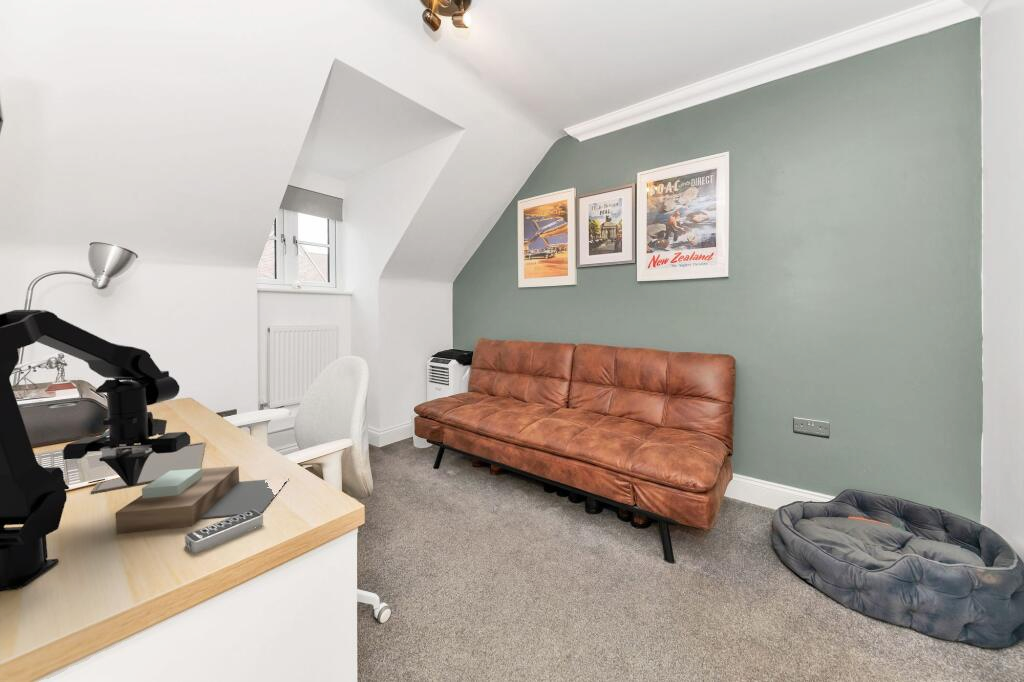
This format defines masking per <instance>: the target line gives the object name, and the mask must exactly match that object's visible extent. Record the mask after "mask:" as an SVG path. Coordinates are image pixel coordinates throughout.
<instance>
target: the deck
mask: <svg viewBox="0 0 1024 682" xmlns="http://www.w3.org/2000/svg"><path fill="white" fill-rule="evenodd" d="M239 469H240V468H239V465H232V466H222V467H206V468H202V478H200V479H199V480H198V481H196V482H195V483H194V484H192V485H191V486H190V487H188V488H187V489H186V490H184V491H183V492H182V493H180V494H179V495H175V496H164V497H152V498H142V495H140V496H138V497H137V498H135V499H133V501H131V502H129V503H128V504H126V505H125V506H123V507H122V508H119V510H117V511H116V512H115V513H114V514H115V515H114V516H115V525H116V526H115V528H116V529H115V530H116V535H119V534H128V533H129V534H130V533H136V532H137V533H139V532H145V531H146V532H147V531H155V530H156V531H157V530H166V529H175V528H176V529H177V528H185V527H186V528H187V527H194V525H195V524H196V523H198V522H199V521H200V520H201V519H200V517H201V516H202V515H203V514H204V513H205V512H206V511H207V510H209V509H210V508H211V507H212V506H213V505H214V504H215V503H216V502H217V501H218V500H219V499H220V498H221V497H223V496H224V495H225V494H226V493H227V492H228V491H229V490H230V489H231V488H232V487H233V486H234V485H235V484H237V483H238V482H240V470H239Z"/></svg>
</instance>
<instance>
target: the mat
mask: <svg viewBox="0 0 1024 682" xmlns="http://www.w3.org/2000/svg"><path fill="white" fill-rule="evenodd" d="M265 480H266V479H256V480H244V481H239V482H238V483H237V484H235V485H234V486H233V487H232V488H231V489H230V490H229V491H228V492H227V493H226V494H225V495H224V496H223V497H221V498H220V499H219V500H218V501H217V502H216V503H215V504H214V505H213V506H212V507H211V508H210V509H209V510H207V511H206V512H205V513H204V514H203V515H202V516H201V517H200V519H199V520H205V519H214V518H215V519H216V518H225V517H227V518H228V517H233V516H236V515H238V514H241V513H243V512H246V511H249V510H255V511H257V512H259V513H261V514H263V513H264V511H265V510H266V509H267V508H268V506H269V505H270V504H269V503H270V502H272V501H273V500H274V499H275V497H276V496H275V495H274V494H273V492H272V489H270V488H267V487H269V486H268V483H267V482H266V483H265ZM274 496H275V497H274ZM273 498H274V499H273ZM272 499H273V500H272ZM271 500H272V501H271ZM266 507H267V508H266ZM262 512H263V513H262Z"/></svg>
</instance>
